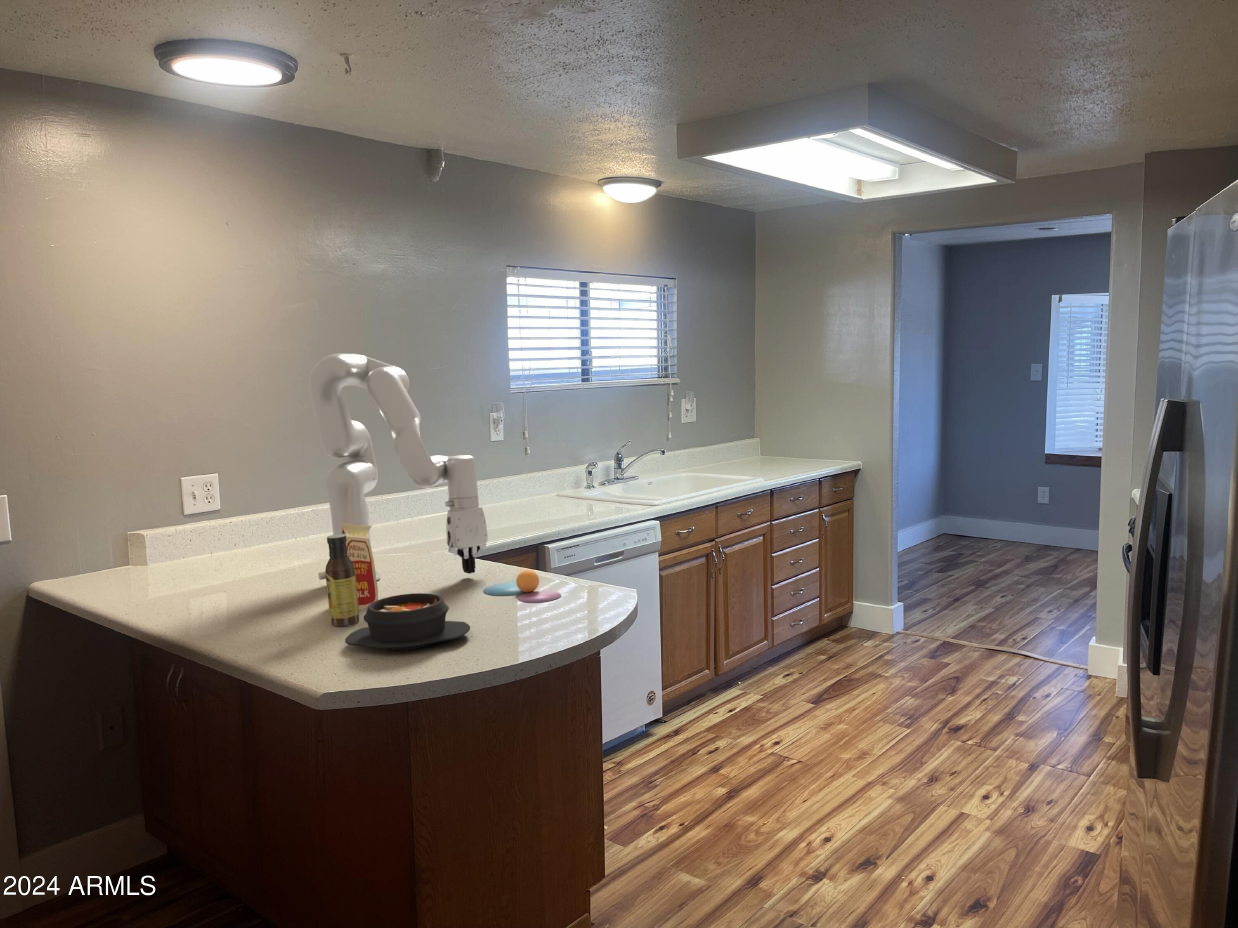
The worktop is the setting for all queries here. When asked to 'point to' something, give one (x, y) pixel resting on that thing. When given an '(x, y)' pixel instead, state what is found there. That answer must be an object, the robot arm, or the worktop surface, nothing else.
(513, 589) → the disc
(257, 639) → the worktop surface
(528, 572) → the ball
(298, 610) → the worktop surface
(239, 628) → the worktop surface
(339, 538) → the sauce bottle
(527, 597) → the disc
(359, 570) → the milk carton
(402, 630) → the casserole
